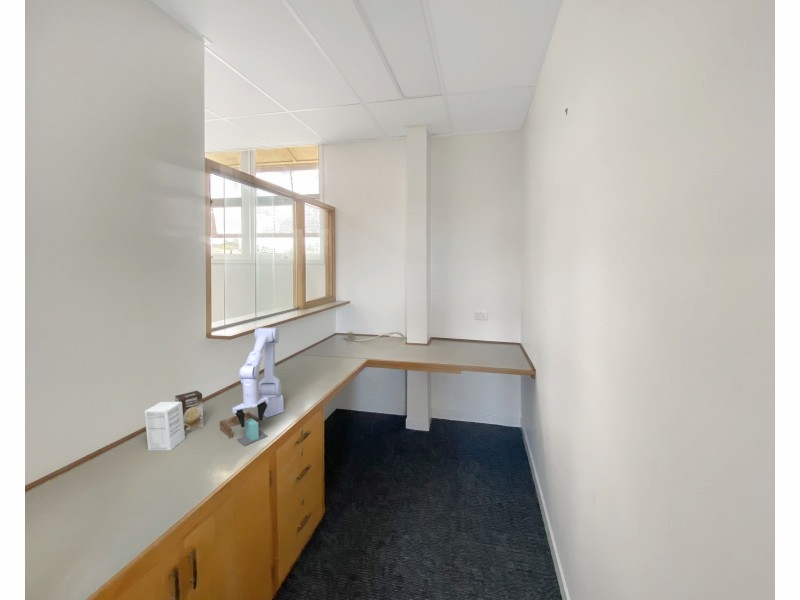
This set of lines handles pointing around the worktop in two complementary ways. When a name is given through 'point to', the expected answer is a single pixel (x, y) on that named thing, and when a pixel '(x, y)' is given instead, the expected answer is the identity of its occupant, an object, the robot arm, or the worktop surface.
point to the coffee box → (191, 410)
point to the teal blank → (251, 429)
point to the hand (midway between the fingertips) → (251, 423)
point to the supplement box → (164, 426)
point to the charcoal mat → (247, 441)
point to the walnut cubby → (235, 423)
